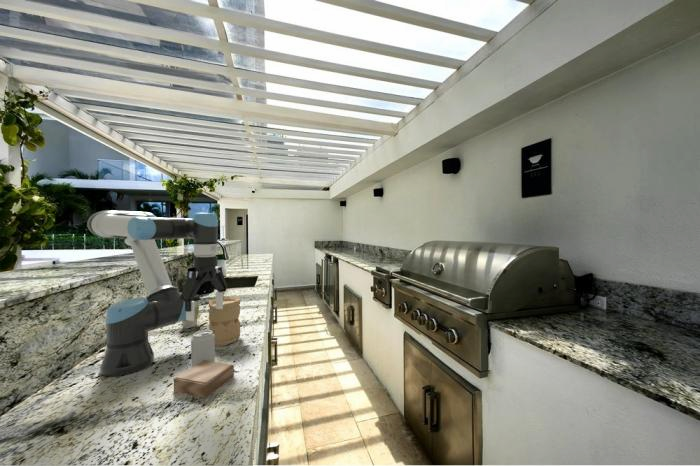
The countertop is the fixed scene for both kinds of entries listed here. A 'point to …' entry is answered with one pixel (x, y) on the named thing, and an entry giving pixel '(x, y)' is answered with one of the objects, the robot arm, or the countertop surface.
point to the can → (202, 347)
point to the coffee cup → (196, 309)
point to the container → (225, 321)
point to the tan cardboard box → (203, 378)
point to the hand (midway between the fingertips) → (205, 314)
